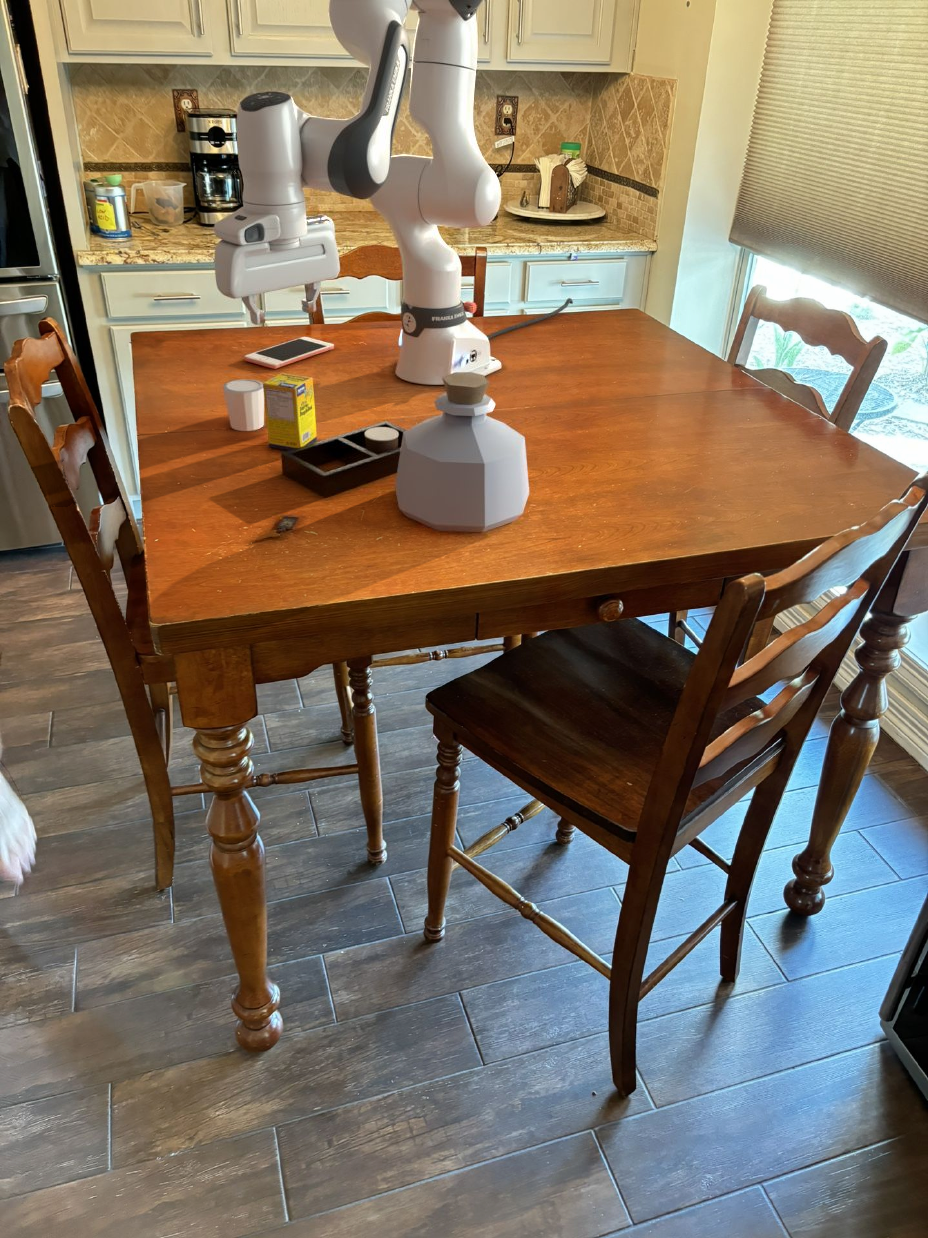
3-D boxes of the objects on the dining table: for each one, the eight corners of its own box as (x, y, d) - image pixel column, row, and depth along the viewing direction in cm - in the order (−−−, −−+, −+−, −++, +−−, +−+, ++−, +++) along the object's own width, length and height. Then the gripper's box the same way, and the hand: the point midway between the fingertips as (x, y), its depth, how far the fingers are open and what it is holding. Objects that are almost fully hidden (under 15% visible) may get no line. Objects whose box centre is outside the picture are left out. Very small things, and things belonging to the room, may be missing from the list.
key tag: (285, 515, 129) (285, 511, 129) (304, 519, 128) (304, 515, 128) (254, 540, 123) (254, 536, 122) (274, 545, 122) (273, 541, 122)
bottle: (470, 465, 146) (475, 347, 136) (554, 510, 134) (567, 385, 123) (366, 496, 135) (363, 371, 125) (447, 549, 123) (450, 415, 112)
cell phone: (243, 360, 185) (243, 355, 185) (304, 340, 198) (304, 335, 197) (275, 369, 181) (274, 364, 181) (335, 348, 194) (335, 344, 193)
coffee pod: (384, 449, 150) (383, 424, 148) (405, 459, 147) (405, 434, 145) (358, 458, 147) (357, 432, 144) (379, 468, 144) (379, 442, 141)
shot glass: (258, 434, 154) (254, 394, 150) (220, 429, 155) (215, 389, 151) (273, 419, 159) (270, 380, 156) (236, 415, 160) (232, 376, 157)
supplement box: (317, 440, 152) (313, 376, 146) (300, 453, 148) (295, 388, 142) (285, 434, 154) (280, 371, 148) (268, 447, 149) (262, 382, 143)
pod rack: (386, 440, 153) (385, 420, 152) (430, 460, 147) (430, 440, 145) (282, 474, 141) (280, 452, 139) (325, 497, 135) (324, 476, 133)
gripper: (320, 209, 140) (326, 300, 148) (203, 226, 128) (216, 324, 136) (345, 215, 137) (350, 309, 144) (227, 234, 125) (239, 335, 132)
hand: (284, 317), depth 140 cm, fingers open, 8 cm apart
